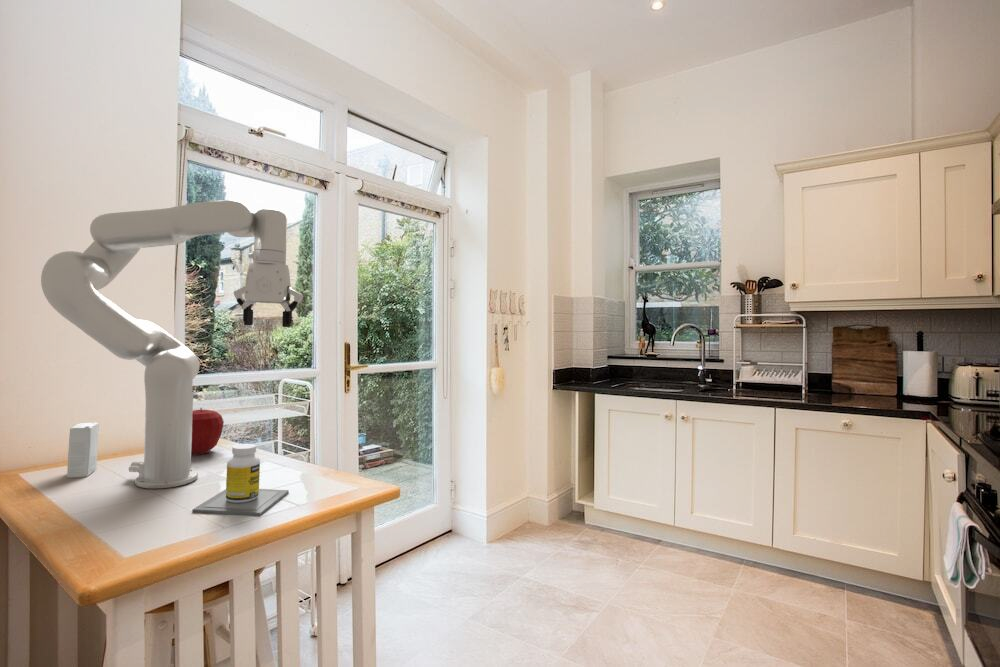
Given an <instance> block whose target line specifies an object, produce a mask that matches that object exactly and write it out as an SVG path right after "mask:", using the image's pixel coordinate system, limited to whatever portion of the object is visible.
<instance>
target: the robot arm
mask: <svg viewBox="0 0 1000 667" xmlns="http://www.w3.org/2000/svg"><path fill="white" fill-rule="evenodd" d="M89 232H90V236H91V237H92V239H93V242H92V243H91V244H89V246H88V247H87V248H85V250H84V251H83V252H81V251H80V252H79V251H72V250H71V251H70V250H69V251H68V250H67V251H61V252H58V253H55V254H54V255H52V256H50V257H49V258H48V260H46V262H45V264H44V266H43V268H42V271H41V275H40V285H41V286H40V287H41V289H42V292H43V295H44V297H45V299H46V300H47V302H48V304H50V306H52V308H53V309H54V310H55V311H56V312H57V313H59V315H61V316H62V317H64V319H66V320H67V321H69V323H71V324H72V325H75V327H77V328H78V329H80V330H81V331H82V332H83V333H85V334H86V335H87V336H89V337H90V338H91V339H93V340H94V341H96V342H97V343H98V344H99V345H101V346H103V347H104V348H105V349H106V350H107V351H108V352H110V353H111V354H113V355H114V356H116V357H118V358H120V359H123V360H128V361H132V360H133V361H134V360H136V362H138V363H140V364H141V365H142V366H144V367H145V370H144V375H143V377H144V378H143V379H144V381H143V382H144V392H145V415H144V416H145V423H144V424H145V425H144V447H143V448H144V452H143V453H144V454H143V461H132V462H131V464H130V466H129V467H128V472H130V473H132V472H133V473H136V472H137V473H138V476H137V477H136V478H135V482H134V483H135V485H136V486H137V487H138V488H141V489H143V488H144V489H151V490H153V489H169V488H175V487H180V486H184V485H187V484H190V483H193V482H194V481H195V480H197V479H198V476H199V472H197V470H194V469H192V468H191V467H192V454H191V443H192V413H193V411H194V410H193V408H194V407H193V406H194V405H193V404H194V402H193V401H194V396H193V395H194V394H193V392H194V390H193V381H194V379H195V378H196V377H197V375H198V373H199V370H200V365H201V364H200V360H199V358H198V356H197V355H196V354H195V353H194V351H192V350H191V349H190V348H188V347H187V346H185V344H183V343H182V342H180V341H179V340H178V339H176V338H174V336H172V335H171V334H169V333H168V332H167V331H166V330H164V329H163V328H162V327H160V326H159V325H157V324H155V323H154V322H152V321H149V320H146V319H140V318H136V317H135V318H134V317H133V316H131V315H130V314H128V313H127V312H125V311H124V310H123V309H122V308H120V307H119V306H118V305H117V304H115V303H114V302H112V301H111V300H110V299H108V298H106V297H105V296H104V295H102V294H101V293H99V291H98V290H102V289H103V288H105V287H107V286H108V285H109V284H111V282H112V281H114V279H115V278H117V276H118V275H119V274H120V273H121V272H122V271H123V270H124V268H125V267H126V266H128V264H129V263H130V262H131V261H132V259H134V258H135V256H136V255H137V254H138V253H139V251H140V250H141V249H146V248H156V247H157V248H158V247H165V246H176V245H180V244H183V243H185V242H187V241H189V240H191V239H193V238H196V237H201V236H205V235H214V234H224V233H227V234H229V235H230V236H232V237H236V238H253V239H254V240H253V251H252V252H251V253H248V259H251V260H252V261H253V262H249V265H248V268H247V271H246V272H247V273H246V277H245V283H244V284H245V285H244V286H243V287H240V288H239V289H236V290H234V291H233V295H234V297H235V299H236V303H237V304H238V305H239V306H240V307H241V310H242V311H243V312H242V313H243V314H242V322H243V325H244V326H252V325H254V309H252V308H253V307H254V306H255V305H256V303H260V304H262V303H263V304H280V305H281V306H282V307H283V309H284V310H283V312H282V322H281V326H282V327H283V328H290V327H291V324H292V321H293V320H292V319H293V312H294V311H295V309H296V308H297V307H299V305H300V303H301V302H302V301H303V298H304V295H303V294H302V293H300V292H299V291H297V290H295V289H293V288H292V286H291V276H290V268H289V265H287V263H286V262H287V261H286V260H287V242H288V239H287V238H288V236H287V235H288V216H287V213H285V212H284V211H282V210H280V209H275V208H266V207H265V208H264V207H263V208H259V209H257V211H256V210H252V209H250V208H249V206H248V205H247V204H246V203H244V202H242V201H239V200H234V199H226V200H225V199H224V200H209V201H199V202H194V203H187V204H182V205H177V206H172V207H169V208H168V207H167V208H157V209H156V208H155V209H145V210H133V211H130V210H129V211H119V212H110V213H104V214H103V213H102V214H100V215H98V216H96V217H95V218H94V219H93V220H92V221H91V223H90V226H89ZM243 294H244V296H243ZM291 296H293V297H294V300H292V302H290V301H291Z"/></svg>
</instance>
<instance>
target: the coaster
mask: <svg viewBox="0 0 1000 667" xmlns="http://www.w3.org/2000/svg"><path fill="white" fill-rule="evenodd" d="M289 491H290V490H288V489H287V490H286V489H269V488H267V489H266V488H259V495H258V497H257V498H256V499H254V500H252V501H249V502H244V503H233V502H229V501H227V499H226V488H225V489H223V490H222V491H220V492H218V493H217V494H215V495H214V496H212V497H210V498H209V499H207V500H206V501H204V502H202V503H200V504H199V505H198V506H196V507H194V508H192V510H191V512H192V513H198V514H199V513H200V514H215V515H216V514H218V515H221V514H222V515H239V516H240V515H241V516H242V515H243V516H255V517H256V516H262V515H263V514H264V513H265V512H267V511H268V510H269V509H270V508H271V507H273V506H274V505H275V504H277V503H278V502H279V501H281V500H282V498H284V497H286V496H287V495H288V494H289Z"/></svg>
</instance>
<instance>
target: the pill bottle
mask: <svg viewBox="0 0 1000 667" xmlns="http://www.w3.org/2000/svg"><path fill="white" fill-rule="evenodd" d="M231 448H232V451H231V453H232V455H233V456H232V457H230V458H229V459H228V460H227V462H226V480H225V481H226V483H225V484H226V486H225V489H226V499H227V501H229V502H233V503H244V502H249V501H252V500H254V499H256V498H257V497H258V495H259V489H260V473H261V472H260V470H261V469H260V468H261V459H260V457H259V456H257V455H256V454H255V453H256V452H257V445H256V444H254V443H239V444H235V445H233V446H232V447H231Z"/></svg>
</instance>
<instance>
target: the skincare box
mask: <svg viewBox="0 0 1000 667" xmlns="http://www.w3.org/2000/svg"><path fill="white" fill-rule="evenodd" d="M99 424H100V423H99V422H81V423H77V424H75V425H74V426H72V427H71V428H69V439H68V453H67V454H68V455H67V456H68V458H67V469H66V470H67V471H66V474H67V475H66V477H67V478H68V479H69V478H86V477H89V476H90V475H91V474H92V473H94V472H95V471H96V470H97V465H98V464H97V463H98V443H99Z"/></svg>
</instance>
